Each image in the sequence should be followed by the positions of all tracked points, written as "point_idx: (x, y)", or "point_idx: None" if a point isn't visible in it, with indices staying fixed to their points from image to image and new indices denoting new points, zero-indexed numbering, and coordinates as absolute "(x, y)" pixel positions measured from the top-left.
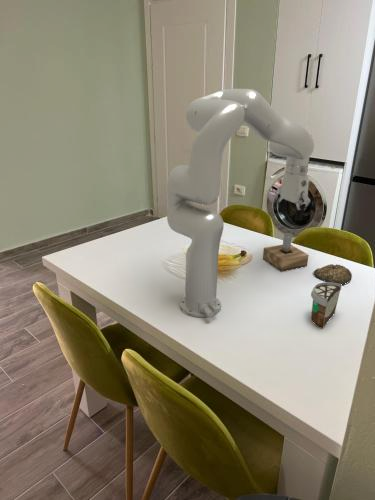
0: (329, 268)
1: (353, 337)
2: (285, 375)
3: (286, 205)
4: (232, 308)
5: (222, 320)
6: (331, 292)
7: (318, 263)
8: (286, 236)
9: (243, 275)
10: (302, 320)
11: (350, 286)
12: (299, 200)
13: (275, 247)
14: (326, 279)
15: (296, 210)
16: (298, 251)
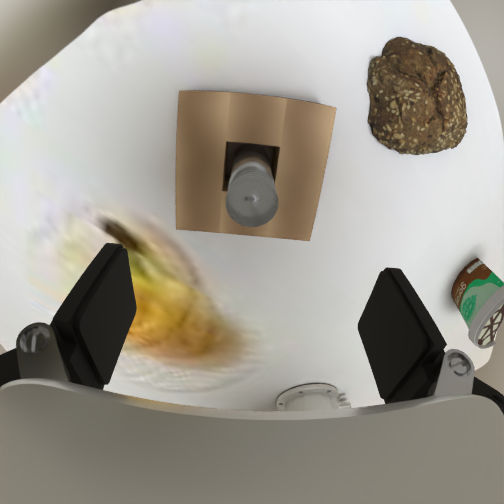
0: (430, 123)
1: (501, 278)
2: None
3: (96, 297)
4: (344, 374)
5: (354, 389)
6: (499, 321)
7: (323, 43)
8: (262, 221)
9: (256, 314)
10: (443, 312)
11: (468, 120)
12: (341, 411)
13: (193, 183)
14: (428, 153)
15: (391, 400)
16: (284, 118)
